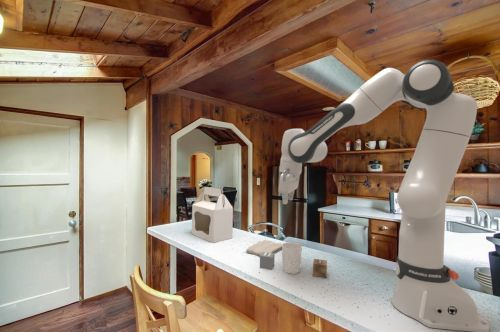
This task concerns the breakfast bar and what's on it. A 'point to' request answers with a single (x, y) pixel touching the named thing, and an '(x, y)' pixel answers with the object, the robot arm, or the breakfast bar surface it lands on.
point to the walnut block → (320, 268)
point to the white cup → (291, 257)
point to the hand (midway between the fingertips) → (287, 201)
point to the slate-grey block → (267, 260)
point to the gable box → (212, 216)
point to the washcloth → (264, 248)
